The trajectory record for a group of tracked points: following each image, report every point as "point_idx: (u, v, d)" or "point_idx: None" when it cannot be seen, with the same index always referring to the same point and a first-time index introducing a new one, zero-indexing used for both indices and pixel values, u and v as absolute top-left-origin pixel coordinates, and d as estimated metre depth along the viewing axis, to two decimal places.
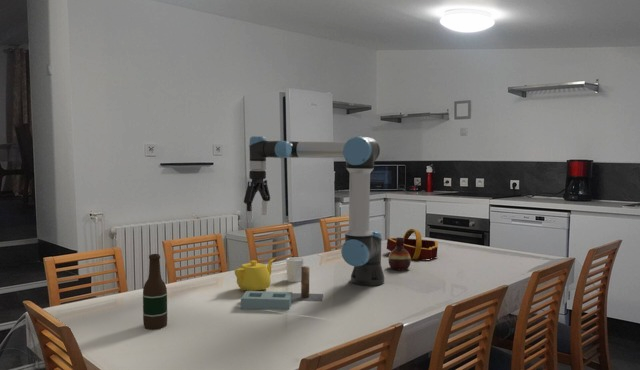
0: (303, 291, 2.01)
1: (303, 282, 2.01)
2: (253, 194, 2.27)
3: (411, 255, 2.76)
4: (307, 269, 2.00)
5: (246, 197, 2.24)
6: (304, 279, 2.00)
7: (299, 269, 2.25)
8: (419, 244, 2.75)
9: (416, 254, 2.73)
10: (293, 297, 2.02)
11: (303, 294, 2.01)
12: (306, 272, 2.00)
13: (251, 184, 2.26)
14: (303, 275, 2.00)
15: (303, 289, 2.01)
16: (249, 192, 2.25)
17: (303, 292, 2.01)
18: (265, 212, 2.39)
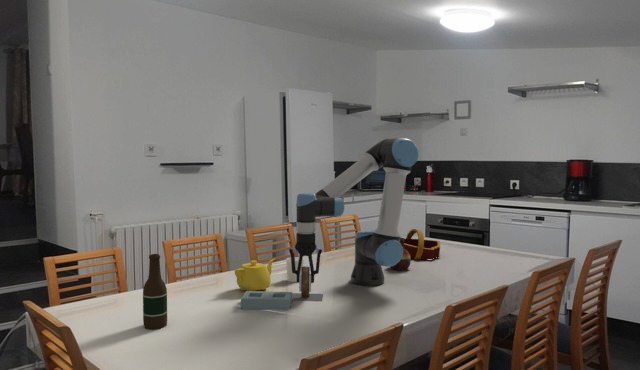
0: (303, 291, 2.01)
1: (303, 282, 2.01)
2: (298, 263, 2.00)
3: (413, 255, 2.77)
4: (307, 269, 2.00)
5: None
6: (304, 279, 2.00)
7: None
8: (421, 244, 2.75)
9: (418, 254, 2.73)
10: (293, 297, 2.02)
11: (303, 294, 2.01)
12: (306, 272, 2.00)
13: (290, 252, 2.01)
14: (303, 275, 2.00)
15: (303, 289, 2.01)
16: None
17: (303, 292, 2.01)
18: (309, 288, 2.01)
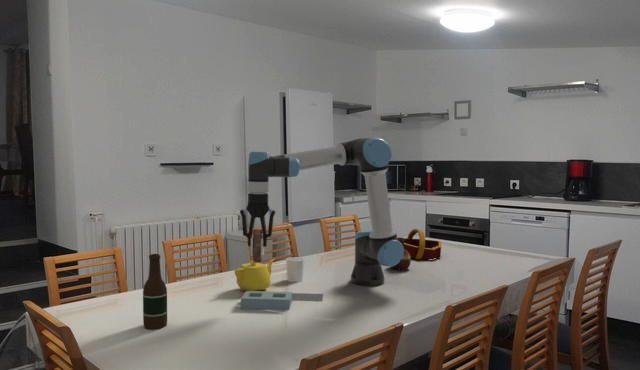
0: (255, 255, 1.90)
1: (255, 245, 1.90)
2: None
3: (414, 255, 2.77)
4: (259, 231, 1.89)
5: None
6: (256, 242, 1.89)
7: (299, 269, 2.25)
8: (422, 244, 2.75)
9: (419, 254, 2.73)
10: (293, 297, 2.02)
11: (255, 258, 1.90)
12: (258, 235, 1.89)
13: (241, 213, 1.90)
14: (255, 238, 1.89)
15: (255, 253, 1.90)
16: None
17: (255, 256, 1.90)
18: (261, 252, 1.91)
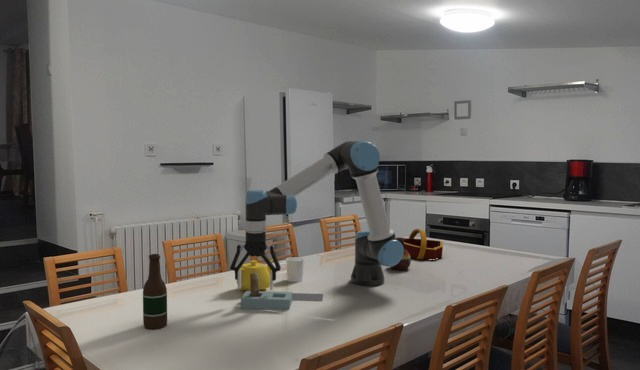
0: None
1: (252, 290, 1.90)
2: (241, 260, 1.90)
3: (416, 255, 2.77)
4: (256, 276, 1.90)
5: None
6: (253, 286, 1.90)
7: (299, 269, 2.25)
8: (424, 244, 2.75)
9: (421, 254, 2.73)
10: (293, 297, 2.02)
11: None
12: (255, 279, 1.90)
13: (237, 248, 1.90)
14: (252, 282, 1.90)
15: None
16: (234, 257, 1.91)
17: None
18: (270, 286, 1.91)
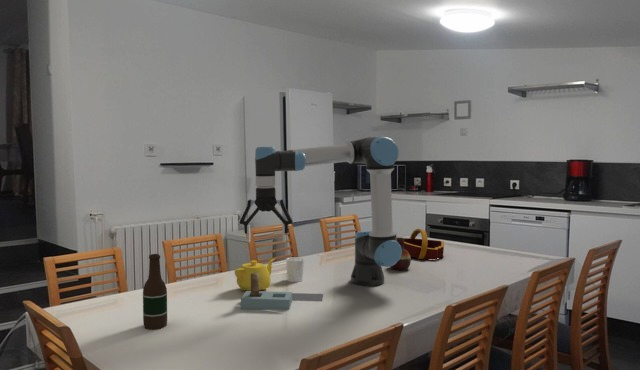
0: None
1: (252, 290, 1.90)
2: (251, 215, 1.94)
3: (417, 255, 2.77)
4: (256, 276, 1.90)
5: None
6: (253, 286, 1.90)
7: (299, 269, 2.25)
8: (425, 244, 2.75)
9: (422, 254, 2.73)
10: (293, 297, 2.02)
11: None
12: (255, 279, 1.90)
13: (247, 203, 1.94)
14: (252, 282, 1.90)
15: None
16: (244, 212, 1.95)
17: None
18: None
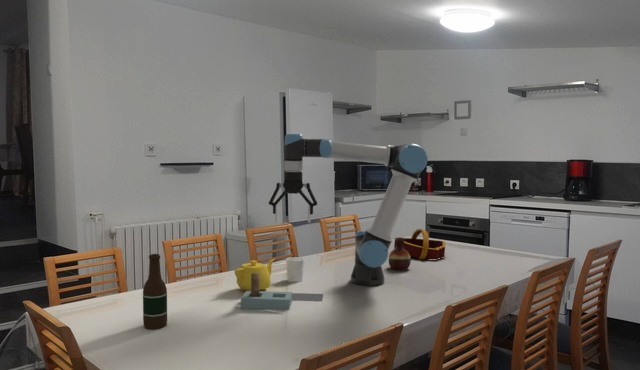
0: None
1: (252, 289, 1.91)
2: None
3: (418, 255, 2.77)
4: (257, 276, 1.90)
5: None
6: (254, 286, 1.90)
7: (299, 269, 2.25)
8: (426, 244, 2.75)
9: (423, 254, 2.73)
10: (293, 297, 2.02)
11: None
12: (256, 279, 1.90)
13: None
14: (252, 282, 1.90)
15: None
16: (273, 193, 2.11)
17: None
18: (308, 219, 2.12)
